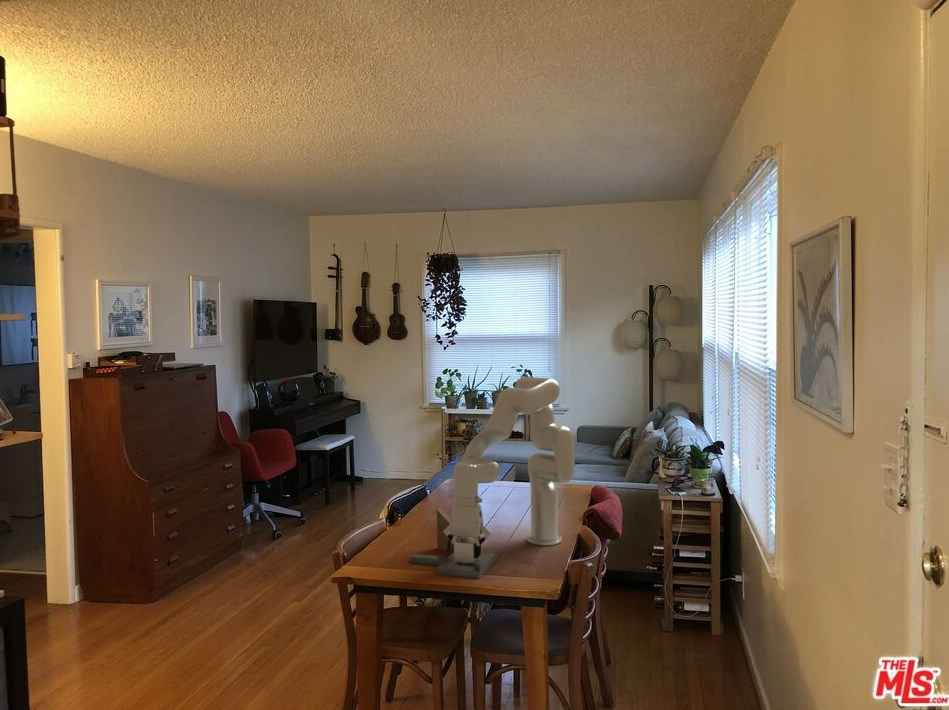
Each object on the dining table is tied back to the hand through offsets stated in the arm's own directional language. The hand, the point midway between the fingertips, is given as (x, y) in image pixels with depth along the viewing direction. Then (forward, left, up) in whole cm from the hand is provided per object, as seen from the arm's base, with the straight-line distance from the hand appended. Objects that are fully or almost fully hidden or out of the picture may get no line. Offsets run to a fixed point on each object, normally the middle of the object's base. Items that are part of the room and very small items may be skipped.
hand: (466, 555), depth 221 cm
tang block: (0, -6, -4) cm, 7 cm away
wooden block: (-15, -10, -4) cm, 18 cm away
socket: (0, 0, -1) cm, 1 cm away
